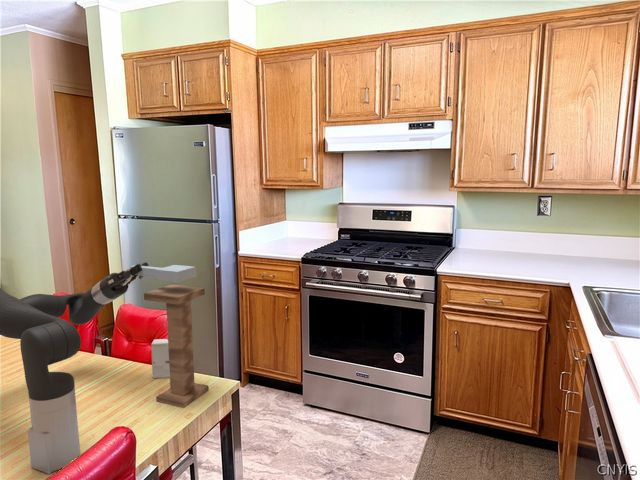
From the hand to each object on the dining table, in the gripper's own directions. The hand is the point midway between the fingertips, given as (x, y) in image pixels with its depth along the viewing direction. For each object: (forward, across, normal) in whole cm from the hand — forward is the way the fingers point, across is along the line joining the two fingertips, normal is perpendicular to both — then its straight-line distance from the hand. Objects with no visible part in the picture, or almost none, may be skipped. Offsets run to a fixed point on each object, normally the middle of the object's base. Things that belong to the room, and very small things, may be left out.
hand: (143, 266), depth 138 cm
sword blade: (+4, 0, -5) cm, 7 cm away
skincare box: (-22, -9, -33) cm, 41 cm away
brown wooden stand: (-10, 0, -40) cm, 41 cm away
